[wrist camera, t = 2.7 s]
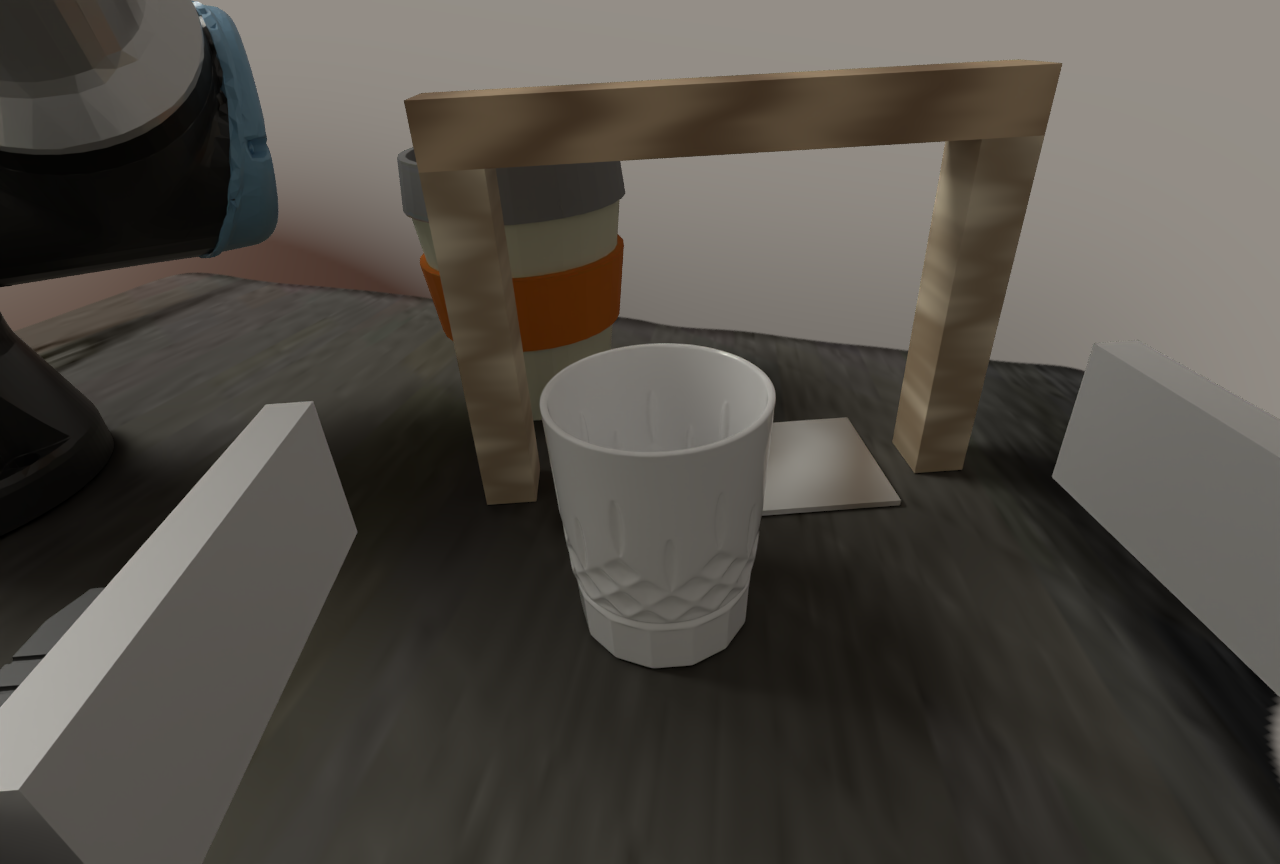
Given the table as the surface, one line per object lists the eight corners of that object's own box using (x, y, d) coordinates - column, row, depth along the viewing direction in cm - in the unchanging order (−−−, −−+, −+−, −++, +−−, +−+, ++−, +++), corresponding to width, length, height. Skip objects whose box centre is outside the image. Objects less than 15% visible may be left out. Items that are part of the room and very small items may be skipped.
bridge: (480, 536, 32) (385, 107, 22) (499, 446, 39) (433, 87, 29) (986, 498, 33) (1105, 67, 23) (918, 416, 40) (988, 56, 30)
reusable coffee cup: (665, 362, 48) (658, 131, 40) (576, 453, 38) (545, 173, 30) (517, 338, 52) (485, 128, 45) (405, 414, 43) (339, 163, 35)
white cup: (554, 564, 30) (523, 362, 25) (717, 526, 32) (721, 330, 27) (593, 709, 24) (563, 477, 19) (796, 652, 26) (821, 425, 20)
